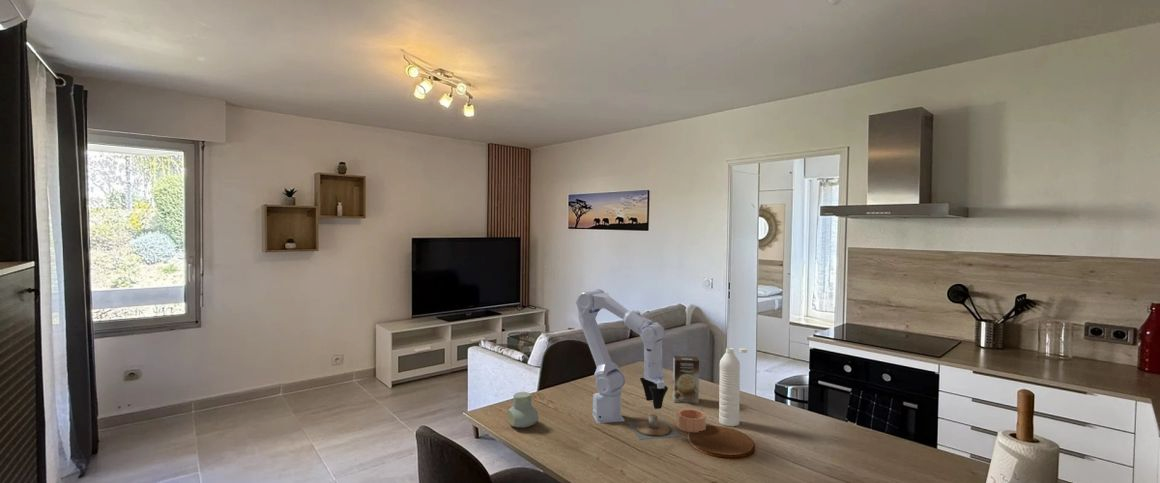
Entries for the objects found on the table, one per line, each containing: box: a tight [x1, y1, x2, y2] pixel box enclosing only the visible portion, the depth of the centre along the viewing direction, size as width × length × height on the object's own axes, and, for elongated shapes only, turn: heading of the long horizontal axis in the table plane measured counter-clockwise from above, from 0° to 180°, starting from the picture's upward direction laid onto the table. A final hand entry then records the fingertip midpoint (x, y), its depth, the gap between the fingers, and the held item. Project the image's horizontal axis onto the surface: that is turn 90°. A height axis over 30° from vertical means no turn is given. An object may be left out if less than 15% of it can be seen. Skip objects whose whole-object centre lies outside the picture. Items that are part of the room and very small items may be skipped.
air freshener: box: [506, 391, 539, 429], centre depth 159 cm, size 11×8×10 cm
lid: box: [636, 414, 671, 436], centre depth 154 cm, size 11×11×4 cm
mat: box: [627, 419, 681, 441], centre depth 154 cm, size 13×13×1 cm
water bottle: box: [718, 347, 748, 427], centre depth 160 cm, size 9×6×25 cm
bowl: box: [676, 408, 707, 433], centre depth 156 cm, size 9×9×4 cm
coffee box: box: [671, 355, 700, 405], centre depth 181 cm, size 9×6×16 cm
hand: (653, 404), depth 154 cm, fingers open, 7 cm apart
